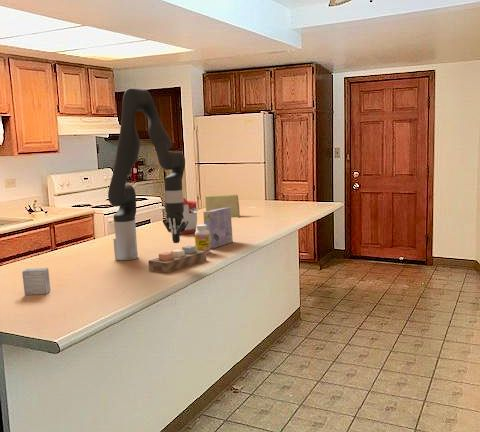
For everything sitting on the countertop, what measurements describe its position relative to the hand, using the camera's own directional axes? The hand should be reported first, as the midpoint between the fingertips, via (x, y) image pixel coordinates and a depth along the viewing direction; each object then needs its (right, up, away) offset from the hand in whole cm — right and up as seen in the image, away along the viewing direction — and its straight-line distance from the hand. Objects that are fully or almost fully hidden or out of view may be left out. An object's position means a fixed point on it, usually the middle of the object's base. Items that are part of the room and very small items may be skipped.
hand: (176, 242), depth 223 cm
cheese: (+16, +10, +132) cm, 133 cm away
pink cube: (-3, -8, -5) cm, 10 cm away
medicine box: (-45, -17, -31) cm, 58 cm away
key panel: (+1, -9, +1) cm, 10 cm away
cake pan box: (+17, -3, +40) cm, 43 cm away
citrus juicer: (-4, +1, +79) cm, 79 cm away
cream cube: (+1, -7, +1) cm, 7 cm away
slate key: (+5, -6, +7) cm, 10 cm away
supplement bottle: (+10, -6, +24) cm, 26 cm away
